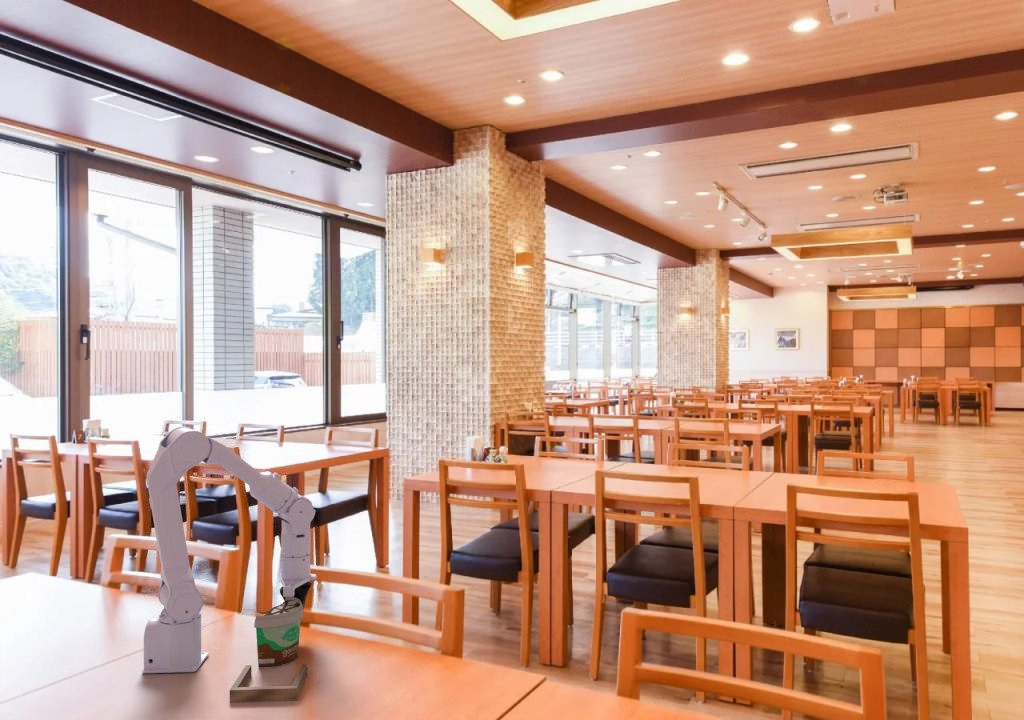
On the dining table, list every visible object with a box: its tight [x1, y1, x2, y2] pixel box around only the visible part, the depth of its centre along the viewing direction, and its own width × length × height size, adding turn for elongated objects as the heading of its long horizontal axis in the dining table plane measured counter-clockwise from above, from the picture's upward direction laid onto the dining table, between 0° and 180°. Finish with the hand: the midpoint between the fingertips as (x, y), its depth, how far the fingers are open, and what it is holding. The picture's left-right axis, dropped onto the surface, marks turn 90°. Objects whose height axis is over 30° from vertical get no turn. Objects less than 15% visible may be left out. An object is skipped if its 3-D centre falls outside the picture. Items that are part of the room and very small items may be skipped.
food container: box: [253, 597, 305, 669], centre depth 145 cm, size 12×6×10 cm, turn 168°
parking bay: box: [229, 663, 309, 703], centre depth 132 cm, size 11×10×2 cm
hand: (295, 620), depth 154 cm, fingers closed
